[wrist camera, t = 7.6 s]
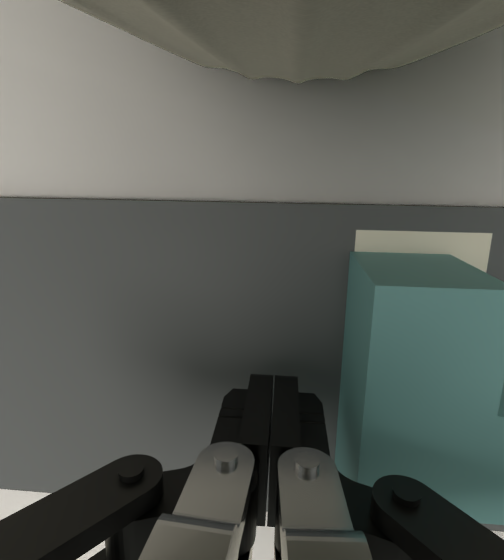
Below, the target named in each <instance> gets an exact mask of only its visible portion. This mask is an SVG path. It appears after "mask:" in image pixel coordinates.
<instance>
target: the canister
mask: <svg viewBox="0 0 504 560" xmlns="http://www.w3.org/2000/svg"><path fill="white" fill-rule="evenodd" d="M59 1H61V2H63V3H65V4H67V5H69V6H71V7H74V8H76V9H78V10H80V11H82V12H84V13H87V14H89V15H91V16H93V17H95V18H97V19H100V20H102V21H104V22H106V23H108V24H111V25H113V26H115V27H117V28H119V29H122V30H124V31H126V32H128V33H130V34H132V35H134V36H136V37H138V38H140V39H142V40H144V41H147V42H149V43H151V44H153V45H155V46H158V47H160V48H162V49H164V50H166V51H169V52H171V53H173V54H175V55H178V56H180V57H182V58H184V59H187V60H189V61H191V62H193V63H196V64H198V65H200V66H204V67H207V68H224V69H228V70H232V71H235V72H238V73H239V74H241V75H243V76H244V77H246V78H249V79H252V80H255V79H260V78H280V79H285V80H289V81H291V82H293V83H296V84H300V83H303V82H305V81H308V80H313V79H323V78H336V79H340V80H349V79H351V78H354V77H356V76H358V75H360V74H362V73H364V72H366V71H369V70H374V69H393V68H398V67H401V66H404V65H407V64H409V63H412V62H415V61H417V60H420V59H422V58H425V57H428V56H430V55H433V54H435V53H438V52H441V51H443V50H446V49H448V48H451V47H453V46H456V45H458V44H461V43H463V42H466V41H468V40H471V39H473V38H476V37H478V36H480V35H483V34H485V33H487V32H489V31H492V30H494V29H496V28H498V27H501V26H503V25H504V0H59Z"/></svg>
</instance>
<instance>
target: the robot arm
mask: <svg viewBox="0 0 504 560" xmlns="http://www.w3.org/2000/svg"><path fill="white" fill-rule="evenodd" d="M272 399H273V412H272ZM271 426H272V427H271ZM269 458H270V465H269ZM268 473H269V493H268V521H267V526H269V527H275V541H274V560H504V540H503V539H502V538H500V537H499V536H497V535H496V534H495V533H493V532H492V531H490V530H489V529H487V528H486V527H485V526H483V525H482V524H480V523H479V522H477V521H476V520H475V519H473V518H472V517H470V516H469V515H468V514H466V513H465V512H463V511H462V510H460V509H459V508H458V507H456V506H455V505H453V504H452V503H450V502H449V501H448V500H446V499H445V498H443V497H442V496H441V495H439V494H438V493H436V492H435V491H433V490H432V489H431V488H429V487H428V486H426V485H425V484H423V483H422V482H420V481H418V480H416V479H413V478H411V477H407V476H403V475H387V476H383V477H381V478H379V479H378V480H377V481H376V482H375V483H374V485H373V487H370V486H367V485H364V484H361V483H358V482H355V481H353V480H351V479H349V478H347V477H345V476H344V475H342V474H341V473H340V472H339V471H338V470H337V467H336V464H335V462H334V461H333V460H332V458H331V457H330V451H329V444H328V438H327V431H326V424H325V417H324V411H323V404H322V402H321V401H320V400H319V398H318V397H317V396H316V395H315V394H314V393H301V392H298V376H281V375H275V382H274V397H273V375H263V374H251V375H250V380H249V385H248V389H235V388H233V389H232V390H231V391H230V392H229V393H227V394H226V395H225V396H224V398H223V402H222V405H221V409H220V412H219V417H218V419H217V422H216V426H215V429H214V433H213V436H212V440H211V443H210V445H209V446H207V447H205V448H204V449H203V450H202V451H201V452H200V453H199V455H198V457H197V459H196V461H195V463H194V464H193V465H191V466H188V467H185V468H181V469H175V470H169V471H163V468H162V465H161V463H160V462H159V461H158V460H157V459H156V458H154V457H152V456H149V455H143V454H134V455H128V456H124V457H121V458H119V459H117V460H115V461H113V462H111V463H109V464H107V465H105V466H103V467H101V468H99V469H98V470H96V471H94V472H92V473H90V474H88V475H86V476H84V477H82V478H80V479H79V480H77V481H75V482H73V483H71V484H69V485H67V486H65V487H63V488H61V489H59V490H58V491H56V492H54V493H52V494H50V495H48V496H46V497H44V498H42V499H40V500H39V501H37V502H35V503H33V504H31V505H29V506H27V507H25V508H23V509H21V510H19V511H18V512H16V513H14V514H12V515H10V516H8V517H6V518H4V519H2V520H0V560H76V559H77V558H79V557H80V556H82V555H83V554H85V553H86V552H88V551H89V550H91V549H92V548H94V547H95V546H97V545H98V544H100V543H101V542H103V541H104V540H105V546H106V548H104V549H103V550H101V551H100V552H98V553H97V554H95V555H94V556H92V557H91V558H89V559H88V560H251V559H252V546H253V544H254V541H255V536H256V526H265V517H266V503H267V488H268Z"/></svg>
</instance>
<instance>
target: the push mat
mask: <svg viewBox="0 0 504 560" xmlns="http://www.w3.org/2000/svg"><path fill="white" fill-rule="evenodd" d="M350 251H352V252H387V253H421V254H451V255H452V256H454V257H456V258H458V259H460V260H462V261H464V262H466V263H468V264H470V265H472V266H474V267H476V268H478V269H480V270H481V271H483V272H485V273H487V274H489V275H491V276H493V277H495V278H497V279H499V280H501V281H503V282H504V207H477V206H426V205H375V204H324V203H274V202H223V201H172V200H121V199H71V198H20V197H0V489H10V490H22V491H33V492H45V493H54V492H56V491H58V490H59V489H61V488H63V487H65V486H67V485H69V484H71V483H73V482H75V481H77V480H79V479H80V478H82V477H84V476H86V475H88V474H90V473H92V472H94V471H96V470H98V469H99V468H101V467H103V466H105V465H107V464H109V463H111V462H113V461H115V460H117V459H119V458H121V457H124V456H128V455H134V454H143V455H149V456H152V457H154V458H156V459H157V460H158V461H159V462H160V463H161V465H162V468H163V471H169V470H175V469H181V468H185V467H188V466H191V465H193V464H194V463H195V461H196V459H197V457H198V455H199V453H200V452H201V451H202V450H203V449H204V448H205V447H207V446H209V445H210V443H211V440H212V436H213V433H214V429H215V426H216V422H217V419H218V417H219V412H220V409H221V405H222V402H223V398H224V396H225V395H226V394H227V393H229V392H230V391H231V390H232V389H233V388H235V389H248V385H249V380H250V375H251V374H263V375H273V397H274V382H275V375H281V376H298V392H301V393H314V394H315V395H316V396H317V397H318V398H319V400H320V401H321V402H322V404H323V411H324V417H325V424H326V431H327V438H328V444H329V451H330V457H331V458H332V460H333V461H334V462H335V448H336V435H337V421H338V408H339V395H340V381H341V368H342V354H343V341H344V327H345V314H346V300H347V287H348V273H349V260H350ZM272 412H273V399H272ZM271 427H272V426H271ZM269 465H270V458H269ZM268 493H269V473H268V488H267V503H266V511H268ZM480 524H482V525H483V526H485V527H486V528H487V529H489V530H492V531H503V532H504V525H495V524H483V523H480Z"/></svg>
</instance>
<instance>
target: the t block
mask: <svg viewBox="0 0 504 560" xmlns="http://www.w3.org/2000/svg"><path fill="white" fill-rule="evenodd" d="M335 464H336V467H337V470H338V471H339V472H340V473H341V474H342V475H344V476H345V477H347V478H349V479H351V480H353V481H355V482H358V483H361V484H364V485H367V486H370V487H373V485H374V483H375V482H376V481H377V480H378V479H379V478H381V477H383V476H387V475H403V476H407V477H411V478H413V479H416V480H418V481H420V482H422V483H423V484H425V485H426V486H428V487H429V488H431V489H432V490H433V491H435V492H436V493H438V494H439V495H441V496H442V497H443V498H445V499H446V500H448V501H449V502H450V503H452V504H453V505H455V506H456V507H458V508H459V509H460V510H462V511H463V512H465V513H466V514H468V515H469V516H470V517H472V518H473V519H475V520H476V521H477V522H479V523H483V524H495V525H504V282H503V281H501V280H499V279H497V278H495V277H493V276H491V275H489V274H487V273H485V272H483V271H481V270H480V269H478V268H476V267H474V266H472V265H470V264H468V263H466V262H464V261H462V260H460V259H458V258H456V257H454V256H452V255H451V254H421V253H387V252H352V251H350V260H349V273H348V287H347V300H346V314H345V327H344V341H343V354H342V368H341V381H340V395H339V408H338V421H337V435H336V448H335Z"/></svg>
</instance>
